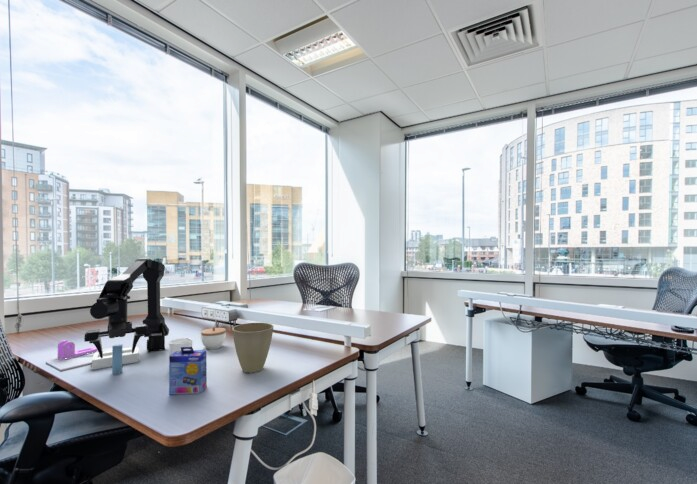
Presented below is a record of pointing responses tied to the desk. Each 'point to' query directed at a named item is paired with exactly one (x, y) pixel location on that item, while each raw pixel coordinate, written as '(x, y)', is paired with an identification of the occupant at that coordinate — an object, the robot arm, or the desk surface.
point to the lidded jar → (213, 337)
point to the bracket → (72, 350)
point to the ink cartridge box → (187, 371)
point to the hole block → (107, 358)
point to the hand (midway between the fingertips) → (117, 355)
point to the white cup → (179, 344)
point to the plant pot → (252, 344)
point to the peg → (117, 359)
